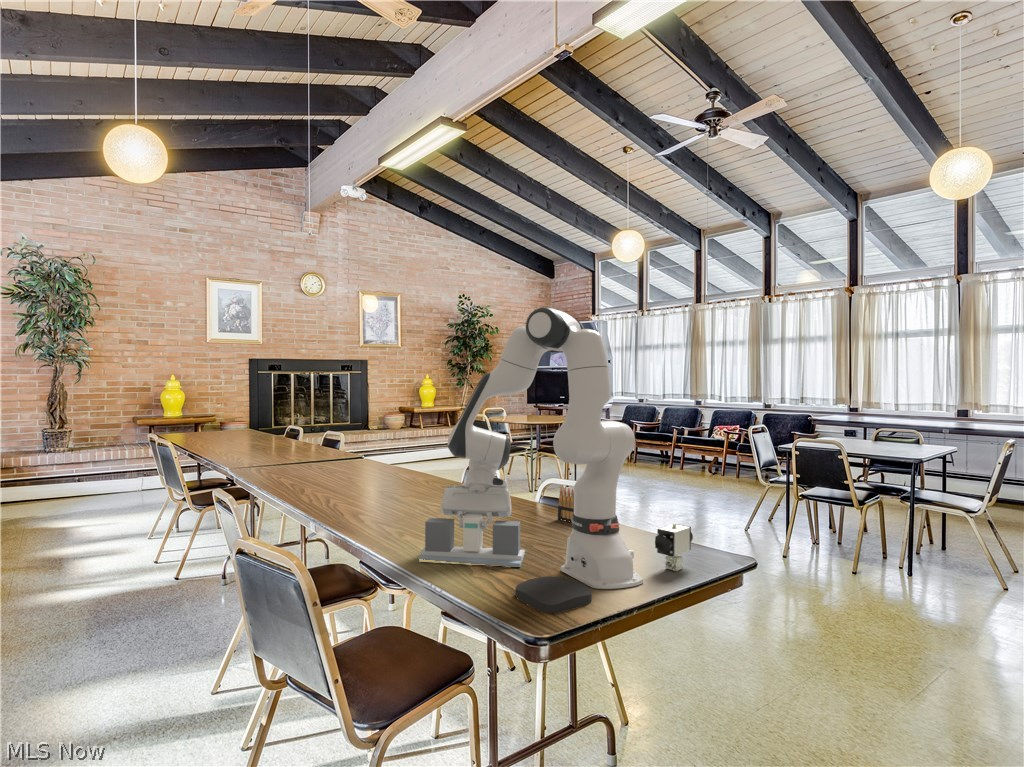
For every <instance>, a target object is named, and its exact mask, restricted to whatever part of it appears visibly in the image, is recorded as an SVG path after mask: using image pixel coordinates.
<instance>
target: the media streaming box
mask: <svg viewBox="0 0 1024 767" xmlns="http://www.w3.org/2000/svg"><path fill="white" fill-rule="evenodd" d="M514 593H515V596H516V597H515V596H514V597H515V598H516V599H517V598H518V599H519V601H520V600H521V601H520V602H522V603H523V602H524V604H525V603H526V604H525V605H527V604H528V605H527V606H529V605H530V606H529V607H531V608H532V607H533V608H532V609H534V608H535V610H536V609H537V611H538V610H539V612H541V611H542V612H541V613H544V612H549V613H548V614H559V613H558V612H560V613H563V611H564V612H567V611H566V610H568V611H570V610H574V608H575V609H577V607H578V608H581V607H583V606H587V605H589V604H591V602H592V600H593V594H592V589H591V588H589V587H588V585H587V586H586V584H584V583H583V582H581V581H579V580H575V579H572V578H569V577H563V576H551V575H550V576H539V577H534V578H530V579H527V580H525V581H522V582H520V583H519V584H517V585H516V586H515V592H514ZM518 599H517V600H518Z"/></svg>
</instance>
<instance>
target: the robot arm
mask: <svg viewBox="0 0 1024 767" xmlns="http://www.w3.org/2000/svg"><path fill="white" fill-rule="evenodd" d="M546 352H550V353H563V354H564V356H565V359H566V367H567V368H566V370H567V380H568V396H569V397H568V399H569V400H568V407H567V412H566V415H565V418H564V421H563V422H562V424H561V425H560V427H558V428H557V430H556V431H555V433H554V437H553V442H552V446H553V451H554V453H555V455H556V457H557V458H558V459H559V460H560V461H561V462H563V463H567V464H571V465H572V464H573V465H585V468H584V471H583V472H582V474H581V476H580V477H579V478H578V479H577V480H576V481H575V483H574V486H573V490H574V513H573V514H572V523H571V527H572V531H571V533H570V535H568V537H567V540H566V541H567V542H566V550H565V551H566V552H565V563H564V564H563V565H561V566H560V571H561V572H562V573H564V574H566V575H568V576H570V577H572V578H573V579H574V580H575V579H576V581H578V582H580V583H582V584H584V585H585V586H586V585H587V587H588V586H589V587H590V588H593V589H599V590H601V589H602V590H615V589H617V590H618V589H624V588H630V587H636V586H639V585H641V584H643V583H644V579H643V577H642V576H641V575H640V574H639V573H638V572H637V571H636V570H635V569H634V558H635V557H634V556H635V553H634V550H633V549H628V546H627V544H626V542H625V541H624V539H623V538H622V535H621V534H620V528H621V527H620V523H619V519H618V516H617V514H616V511H617V506H616V505H617V487H618V482H619V477H620V474H621V471H622V468H623V466H624V464H625V461H626V459H627V458H628V457H629V456H630V455H631V453H632V452H633V451H634V448H635V446H636V436H635V434H634V431H633V429H632V428H631V427H630V426H629V424H627V423H624V422H620V421H615V420H612V419H611V420H601V419H602V413H603V410H604V407H605V405H606V404H607V403H608V402H609V401H610V400H611V396H612V390H611V389H612V387H611V379H610V369H609V362H608V354H607V351H606V346H605V343H604V340H603V337H602V334H600V333H599V332H598V331H597V330H594V329H590V328H584V326H583V325H582V324H581V322H580V320H578V318H576V317H574V316H571V315H570V314H569V313H567V312H565V311H563V310H559V309H555V308H553V307H547V306H546V307H544V306H543V307H539V308H536V309H534V310H533V311H532V312H530V314H529V316H527V318H526V322H525V326H524V325H523V326H519V327H516V328H514V329H513V330H512V331H511V333H510V335H509V337H508V338H507V341H506V343H505V346H504V348H503V350H502V353H501V356H500V359H499V362H498V363H497V365H496V367H494V369H493V370H492V371H490V372H486V373H484V375H483V376H482V377H480V380H479V381H478V383H477V385H476V386H475V388H474V390H473V391H472V394H471V396H470V397H469V399H468V401H467V404H466V405H465V407H464V410H463V411H462V413H461V414H460V417H459V419H458V420H457V422H456V424H455V425H454V427H453V428H452V430H451V431H450V433H449V435H448V439H447V448H448V450H449V452H450V453H451V454H452V455H453V457H456V458H461V459H467V460H469V462H468V471H467V473H466V477H465V482H464V485H463V484H461V485H453V484H452V485H449V486H447V487H446V488H444V490H443V495H442V496H443V497H442V500H441V503H440V511H441V513H442V514H443V515H445V516H457V519H458V521H459V522H458V528H459V529H463V518H464V517H465V516H466V515H467V514H483V517H484V518H485V517H486V518H485V520H483V521H482V522H481V529H483V530H488V525H489V523H491V522H492V521H493V518H509V517H510V516H512V501H511V494H510V487H509V482H508V481H507V480H506V479H503V478H499V477H496V472H497V471H499V470H501V469H503V468H504V467H505V466H506V465H507V464H508V462H509V460H510V454H511V448H512V444H511V441H510V438H509V437H508V436H507V435H505V434H503V433H500V432H498V431H497V432H496V431H492V430H488V429H485V428H482V427H478V426H475V425H474V423H475V420H476V418H477V416H478V415H479V413H480V412H481V409H482V407H483V405H484V403H485V402H486V401H487V400H488V399H490V398H493V397H498V396H508V395H509V396H510V395H511V396H512V395H515V394H520V393H522V392H524V391H526V390H528V389H529V388H530V387H531V385H532V383H533V381H534V378H535V376H536V373H537V371H538V367H539V363H540V361H541V358H542V356H543V355H544V354H545V353H546Z"/></svg>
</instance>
